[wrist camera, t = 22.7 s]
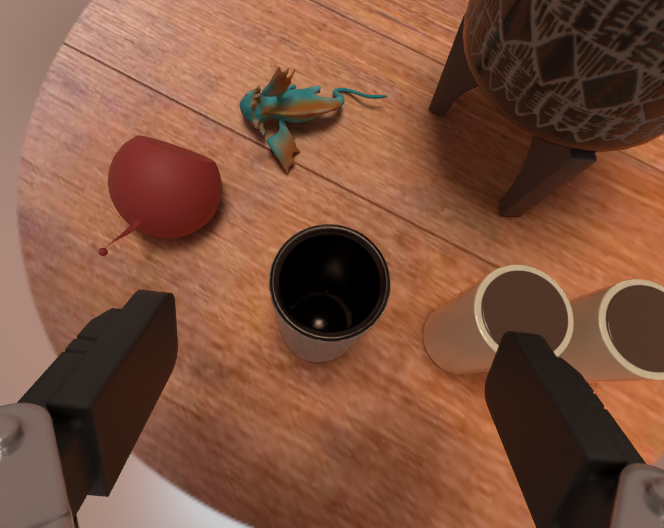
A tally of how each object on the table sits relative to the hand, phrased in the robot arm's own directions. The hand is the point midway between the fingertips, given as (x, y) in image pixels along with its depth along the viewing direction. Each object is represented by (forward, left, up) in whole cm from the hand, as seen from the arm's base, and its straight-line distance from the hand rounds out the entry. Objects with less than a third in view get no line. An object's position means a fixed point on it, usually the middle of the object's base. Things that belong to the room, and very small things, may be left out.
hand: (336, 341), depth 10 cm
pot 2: (+14, 0, -15) cm, 21 cm away
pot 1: (+9, +1, -15) cm, 17 cm away
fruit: (-9, +10, -15) cm, 20 cm away
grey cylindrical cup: (0, +3, -15) cm, 15 cm away
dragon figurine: (0, +17, -15) cm, 23 cm away
